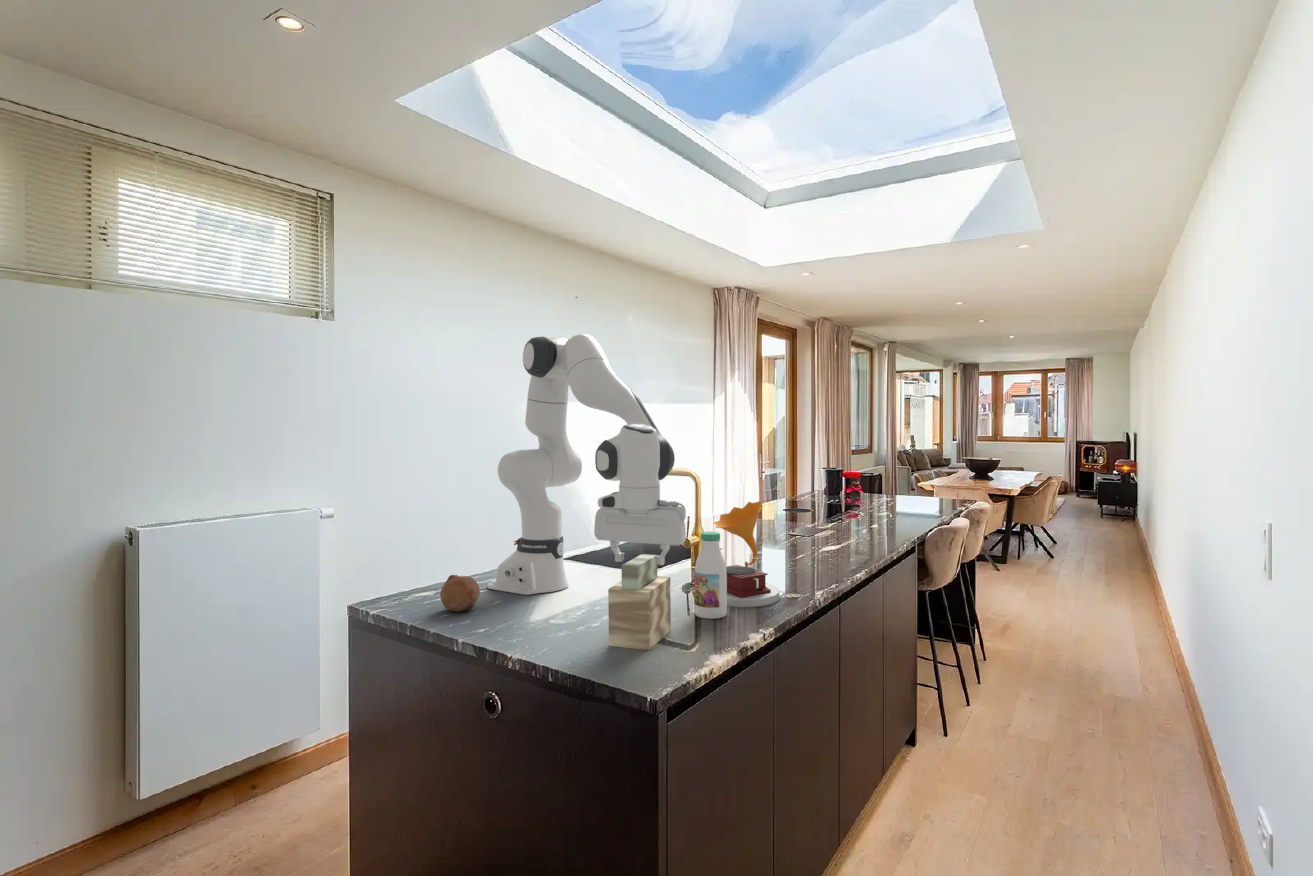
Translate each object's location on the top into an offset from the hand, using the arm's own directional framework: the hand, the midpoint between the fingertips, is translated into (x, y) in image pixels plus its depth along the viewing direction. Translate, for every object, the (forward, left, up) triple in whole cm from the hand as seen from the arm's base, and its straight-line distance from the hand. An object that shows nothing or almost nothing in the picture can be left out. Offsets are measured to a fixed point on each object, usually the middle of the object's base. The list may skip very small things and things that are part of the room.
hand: (639, 562), depth 149 cm
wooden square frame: (0, 0, -16) cm, 16 cm away
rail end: (0, 0, -8) cm, 8 cm away
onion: (-50, +5, -17) cm, 53 cm away
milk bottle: (+10, +21, -17) cm, 29 cm away
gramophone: (+13, +40, -17) cm, 45 cm away
